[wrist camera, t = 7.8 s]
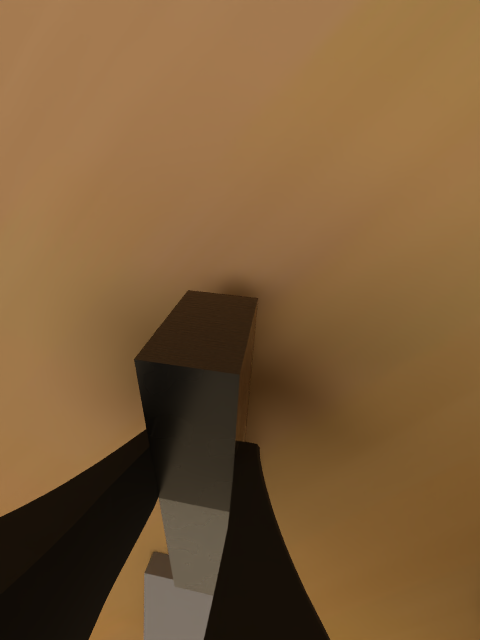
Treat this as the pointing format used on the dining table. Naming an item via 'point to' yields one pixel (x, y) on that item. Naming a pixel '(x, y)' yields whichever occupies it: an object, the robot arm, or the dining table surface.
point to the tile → (172, 605)
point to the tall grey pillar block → (197, 424)
